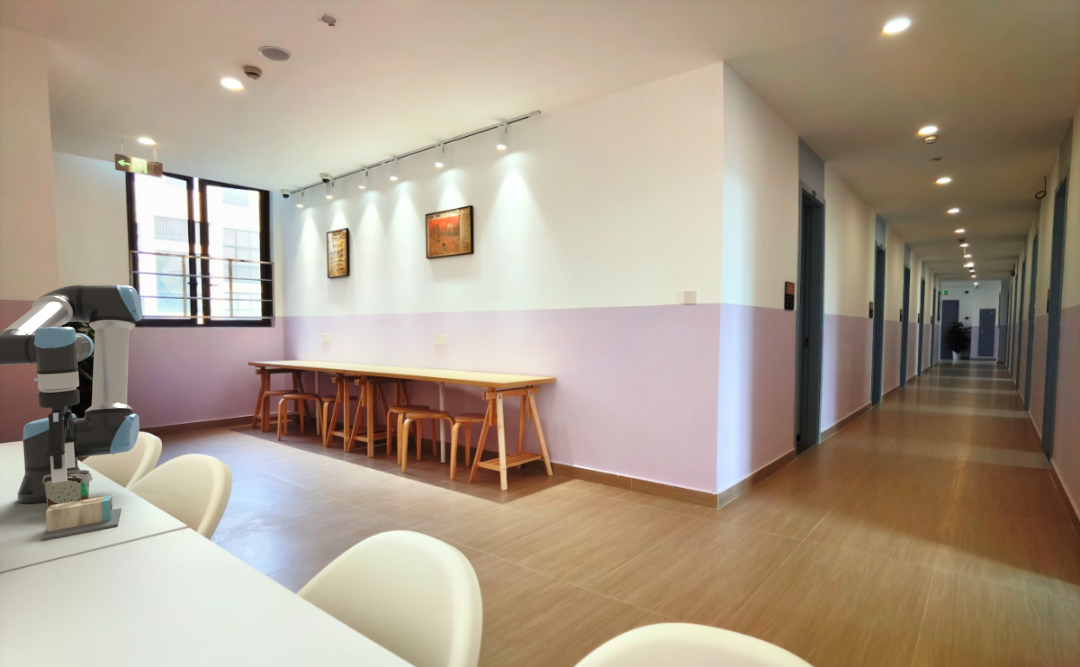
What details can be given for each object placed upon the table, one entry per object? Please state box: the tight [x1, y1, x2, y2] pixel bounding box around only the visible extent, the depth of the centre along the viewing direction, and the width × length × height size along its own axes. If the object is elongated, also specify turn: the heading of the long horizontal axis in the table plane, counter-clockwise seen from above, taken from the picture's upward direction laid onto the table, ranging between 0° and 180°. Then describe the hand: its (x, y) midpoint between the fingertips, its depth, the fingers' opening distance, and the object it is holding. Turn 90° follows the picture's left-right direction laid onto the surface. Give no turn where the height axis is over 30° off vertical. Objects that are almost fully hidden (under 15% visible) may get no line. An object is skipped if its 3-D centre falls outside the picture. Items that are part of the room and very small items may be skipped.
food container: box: [42, 469, 93, 509], centre depth 146 cm, size 12×6×10 cm, turn 84°
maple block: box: [45, 494, 113, 532], centre depth 134 cm, size 5×5×12 cm
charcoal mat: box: [40, 507, 122, 542], centre depth 135 cm, size 14×14×1 cm
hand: (64, 474), depth 133 cm, fingers open, 13 cm apart
